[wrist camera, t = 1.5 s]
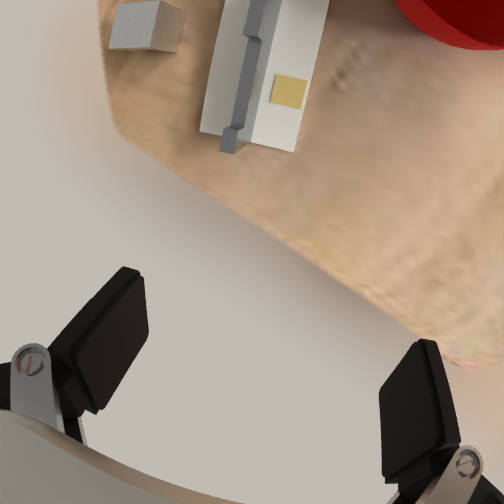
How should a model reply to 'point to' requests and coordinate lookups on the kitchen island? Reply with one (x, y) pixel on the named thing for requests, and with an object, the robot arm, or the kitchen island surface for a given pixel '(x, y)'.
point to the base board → (277, 72)
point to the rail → (251, 73)
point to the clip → (147, 27)
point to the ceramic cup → (459, 21)
